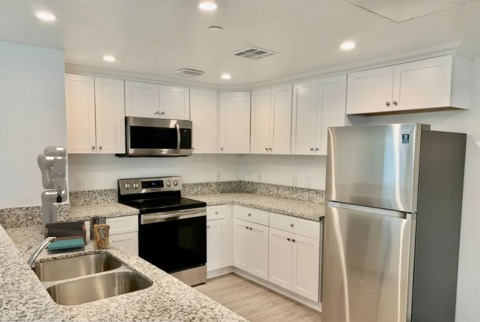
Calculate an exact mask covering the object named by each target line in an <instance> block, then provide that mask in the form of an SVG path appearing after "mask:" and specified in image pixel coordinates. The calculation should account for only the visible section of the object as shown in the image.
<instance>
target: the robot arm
mask: <svg viewBox="0 0 480 322" xmlns="http://www.w3.org/2000/svg"><path fill="white" fill-rule="evenodd" d="M66 157H67V150H66V148H65V147H64V146H53V145H52V146H47V147H45V148H44V150H43V153H41V154H38V155H37V159H36V161H37V166H38V168H39V169H40V170H39V171H40V173H41V184H42V188H43V189H44V191H42V192H41V194H40V200H41V206H42V208H41V210H42V211H41V219H42V220H41V222H42V224H41V230H40V231H39V234H41V235H44V233H45V223H56V222H58V216H57V215H58V208H57V206H56V205H55V203H56V204H62V203H64V202H67V201H68V196H69V195H68V186H67V179H66V178H67V177H66V176H67V175H66V174H67V173H66V171H67V169H66V167H67V166H66V165H67V158H66Z"/></svg>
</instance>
